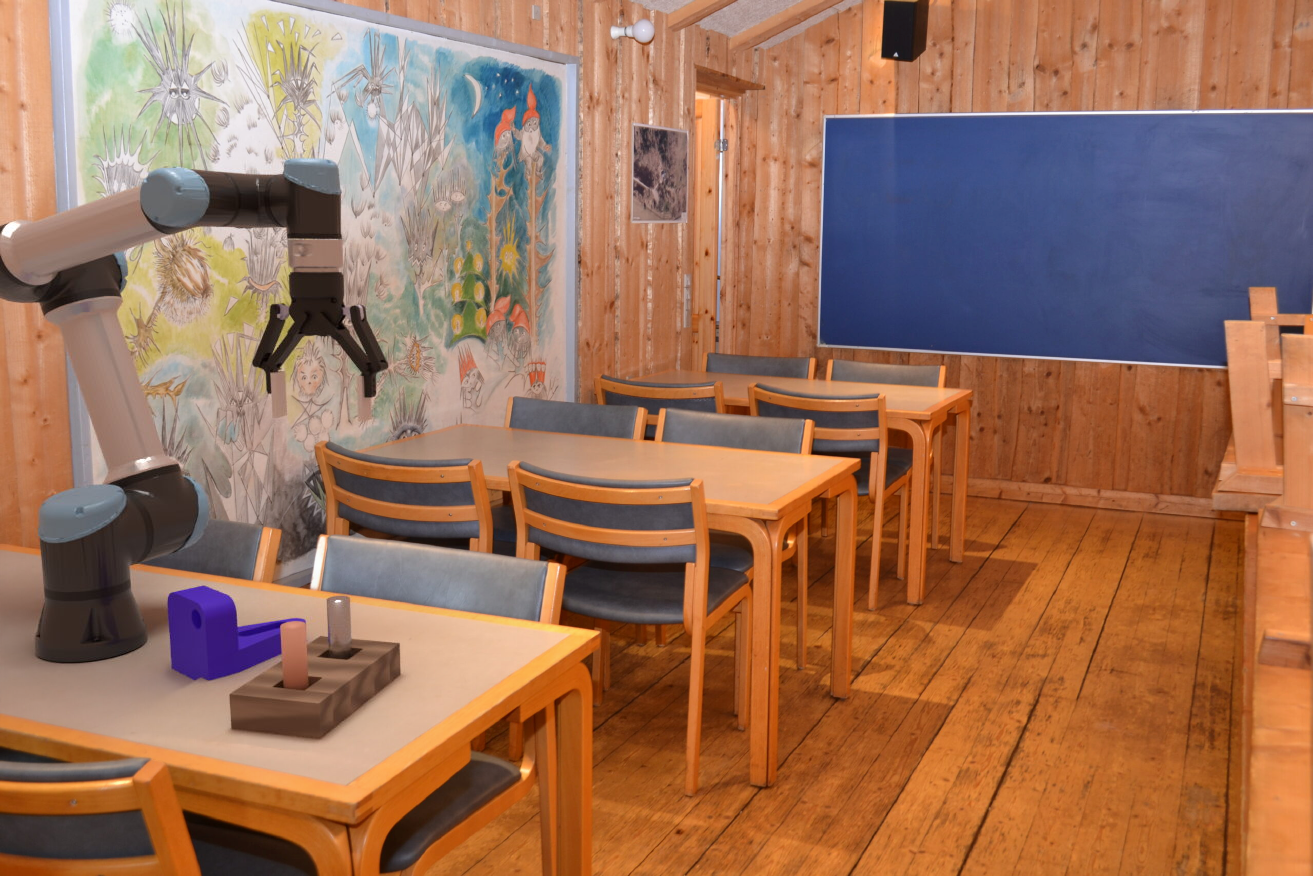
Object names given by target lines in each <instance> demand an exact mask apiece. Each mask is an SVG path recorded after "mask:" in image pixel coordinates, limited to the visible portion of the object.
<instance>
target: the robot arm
mask: <svg viewBox="0 0 1313 876" xmlns="http://www.w3.org/2000/svg"><path fill="white" fill-rule="evenodd" d="M339 172H340V169H339V166H338V164H337V163H336V162H335V161H333V160H332V159H327V158H313V157H310V158H309V157H297V158H296V157H293V158H288V159H286V160H285V161H284V163H283V171H282V173H279V174H278V173H277V174H265V173H263V174H262V173H261V174H256V173H255V174H254V173H253V174H251V173H242V172H241V173H240V172H227V171H215V170H206V169H204V170H203V169H195V168H194V169H193V168H187V167H181V166H174V167H159V168H155V169H153V170H152V171H150V172H149V173H148V174H147V176H146V177H145V178H144V179H143V181H142V183H141V184H139V185H137V186H136V185H135V186H133V187H131V188H127V189H124V190H121V191H119V192H116V193H113V194H110V195H107V196H105V197H102V198H98V199H96V200H93V201H90V202H87V203H84V204H81V205H79V206H76V207H73V208H70V209H67V210H64V211H61V212H58V213H56V214H52V215H50V216H47V217H44V218H41V219H38V220H35V221H32V220H28V219H17V220H12V221H10V222H7V223H3V224H1V225H0V299H2V300H4V301H7V302H12V303H20V304H32V303H33V304H34V303H35V304H36V303H38V304H39V305H40V310H41V311H42V315H43V318H44V320H45V321H46V322H48V323H50V324H53V326H56V327H57V328H59V332H60V334H61V337H62V339H63V343H64V346H65V348H66V352H67V354H68V357H69V360H70V362H71V366H72V368H73V373H74V375H75V377H76V380H77V381H76V382H77V384H78V386H79V389H80V393H81V396H82V398H83V401H84V404H85V407H86V411H87V412H88V416H89V420H90V421H91V424H92V428H93V429H94V434H95V436H96V438H97V441H98V444H99V448H100V450H101V453H102V456H103V458H104V461H105V465H106V468H107V471H108V472H107V475H106V477H105V478H104V480H103V482H102V484H90V485H87V486H86V485H85V486H83V487H79V486H78V487H77V486H76V487H74V488H70V489H66V490H63V491H61V492H58V493H55V494H53V495H51V496H50V497H48V498H46V499H45V500H44V501H43V502H42V503H41V504H40V507H39V509H38V527H37V535H38V538H39V547H40V557H41V559H40V560H41V567H42V581H43V592H44V602H43V606H42V610H41V613H40V618H39V622H38V625H37V631H36V633H35V636H34V650H35V654H36V656H37V657H39V658H41V659H43V660H47V661H51V662H61V663H79V662H91V661H96V660H103V659H108V658H112V657H117V656H120V655H123V654H127V653H128V652H132V651H134V650H136V649H138V648H140V647H142V646H143V645H144V644H145V643H146V642H147V640H148V631H147V630H148V629H147V623H146V621H145V619H144V618H143V617H142V613H141V610H140V608H139V605H138V604H137V603H138V602H137V600H136V598H135V597H134V594H133V590H132V582H131V568H130V567H131V566H134V565H137V564H141V563H143V562H144V563H145V562H147V561H151V560H153V559H157V558H160V557H163V556H166V555H168V556H169V555H173V554H174V553H179V552H180V551H182V550H183V549H186V548H189V547H191V546H193V545H194V544H195V543H197V542H198V541H199V540H200V539H201V538H202V537H203V535H204V533H205V530H206V528H207V526H208V524H209V520H210V514H211V513H210V502H209V501H210V500H209V498H208V495H207V493H206V491H205V489H204V487H203V486H202V484H200V483H199V482H196V479H195V478H193V477H191V476H187V475H184V474H183V472H182V470H181V466H180V463H179V462H178V461H177V460H174V459H173V458H170V457H169V456H167V455H166V454H165V451H164V448H163V445H162V442H161V439H160V436H159V433H158V431H157V427H156V424H155V422H154V419H153V416H152V413H151V409H150V407H149V405H148V401H147V399H146V395H145V393H144V390H143V386H142V385H141V381H140V378H139V375H138V373H137V369H136V366H135V364H134V363H135V362H134V360H133V357H132V354H131V352H130V349H129V346H128V343H127V341H126V337H125V334H124V332H123V328H122V325H121V321H120V319H119V316H118V311H119V309H120V307H121V306H122V304H123V302H124V300H123V296H122V292H123V291H124V290H125V289H126V286H127V283H128V280H127V279H126V277H128V276H129V267H128V261H127V259H126V256H125V253H124V251H125V250H129V249H132V248H135V247H138V246H140V245H144V244H146V243H150V242H152V241H153V242H154V241H156V240H160V239H162V238H165V237H168V236H172V235H175V234H178V233H182V232H185V231H189V230H191V229H194V228H201V227H205V228H206V227H207V228H208V227H209V228H211V227H212V228H214V227H215V228H234V229H246V230H250V229H261V228H262V229H265V228H266V229H267V228H269V229H270V228H281V229H283V228H285V229H286V236H287V237H286V239H287V240H286V241H287V242H286V243H287V259H288V268H289V267H290V269H292V271H290V272H289V274H288V285H289V286H288V290H289V297H290V301H291V302H290V305H286V304H285V303H282V302H281V303H272V304H271V305H270V306H269V320H268V322H267V325H266V327H265V330H264V332H263V334H262V337H261V339H260V342H259V343H258V347H257V349H256V352H255V354H254V357H253V359H252V362H251V363H252V364H251V365H252V366H253V367H254V368H259V369H261V370H263V372H264V373H265V383H266V385H265V386H266V387H265V389H266V393H267V394H268V395H271V410H272V415H271V416H272V418H275V419H276V418H281V417H286V416H287V415H288V405H287V403H288V402H287V388H286V387H287V383H286V382H287V381H286V380H287V379H286V371H285V370H282V369H283V368H282V366H283V365H284V363H285V362H286V360H287V359H288V358H289V357H290V355H291V354H292V353H293V352H294V350H295V349H296V347H297V346H298V344H299V343H300V342H301V341H302V339H303V338H304V337H314V336H318V337H324V338H325V337H330V338H331V339H333V340H334V341H336V342H337V344H338V345H339V346H340V347H341V349H342V350H343V351H344V352H345V354H346V355H347V357H348V358H349V359H350V360H351V361H352V362H353V364H354V365H355V367H356V368H357V369H358V370H359V371H360V375H356V390H357V392H356V394H357V396H356V397H357V398H356V399H357V420H358V422H366V421H369V420H372V419H373V413H372V411H373V410H372V408H373V407H372V398H374V397H376V396H377V395H376V394H377V374H378V373H380V372H383V371H387V370H388V369H389V365H390V364H389V362H388V360H387V358H386V356H385V355H384V352H383V350H382V348H381V347H380V344H379V342H378V340H377V338H376V335H375V334H374V331H373V330H372V327H371V326H370V324H369V321H368V320H367V319H368V318H367V311H366V307H365V305H363V304H358V305H357V304H356V305H350V306H347V307H346V305H345V302H344V298H345V280H344V279H345V275H344V274H343V272H342V271H340V269H342V268H343V267H344V252H343V251H344V250H343V240H342V239H343V236H342V235H343V234H342V188H341V182H340V180H341V179H340V173H339ZM289 317H290V318H291V320H292V321H293V323H292V325H291V326H290V328H289V329H288V330H287V331H286V332H287V333H286V335H285V336H284V338H283V339H282V340H281V342H280V343H279V345H278V346H277V343H278V342H279V338H280V336H281V334H282V331H283V329H284V326H285V324H286V320H287V319H288V318H289ZM346 317H347V319H348V320H349V321H350V323H351V326H352V328H353V329H354V331H355V333H356V335H357V338H358V340H359V343H360V345H362V347H361V346H360V345H359V344H358V342H357V341H356V340H355V339H354V337H353V336H352V335H351V333H350V330H349V329H348V327H347V326H346V325H345V324H344V320H345V318H346ZM276 346H277V348H276ZM275 348H276V349H275Z"/></svg>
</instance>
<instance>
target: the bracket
mask: <svg viewBox="0 0 1313 876" xmlns="http://www.w3.org/2000/svg"><path fill="white" fill-rule="evenodd" d="M237 611H238V610H237V607H236V603H235V601H234V599H233V598H232V597H231V595H229V594H226V593H224V592H222V591H219V590H217V589H215V588H211V587H210V586H207V585H203V584H202V585H200V586H199V585H198V586H195V587H191V588H186V589H181V590H175V591H172V592H170V593H169V594H168V597H167V616H168V617H167V618H168V619H167V620H168V630H169V631H168V632H169V635H168V636H169V649H170V663H171V664H170V665H171V669H172V670H174V671H175V672H178V673H180V674H182V675H183V676H185V677H188V678H189V679H191V680H193V681H195V682H196V681H197V680H199V679H201V678H202V679H204V680H206V681H208V682H209V681H210V682H211V681H214V680H217V679H220V678H224V677H228V676H231V675H234V674H239V673H240V672H241V673H242V672H243V671H246V670H248V669H250V668H253V667H255V666H258V665H260V664H262V663H264V662H266V661H268V660H271V659H274V658H275V657H278V656H280V655H282V648H281V629H280V626H281V625H282V624H283V623H286V622H291V621H301V622H304V623H305V624H306V625H307V623H306V622H307V621H306V619H305V618H299V617H289V618H285V619H277V620H273V621H266V622H265V621H264V622H260V623H259V622H258V623H253V624H245V625H241V626H238V614H237ZM306 642H307V643H308V640H307V638H306Z"/></svg>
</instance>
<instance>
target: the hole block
mask: <svg viewBox="0 0 1313 876" xmlns="http://www.w3.org/2000/svg"><path fill="white" fill-rule="evenodd" d="M351 640H352V657H351V658H350V659H348V660H343V659H332V658H329V645H328V636H326V635H325V636H324V635H323V636H322V635H320V636H318V637H317V638H315V639H314V640H312V641H310V642H309V643H307V662H308V683H309V688H307V689H306V690H295V689H285V688H284V686H283V667H282V660H281V661H279V662H277V663H276V664H274V665H273V666H271V667H270V668H268V669H266V670H265V671H263V672H262V673H260V674H258V675H257V676H255V677H254V678H252V679H250V680H249V681H248V682H245V684H243V685H242V686H239V687H238V688H236V689H234V690H233V691H232V692H230V693H229V709H230V710H229V711H230V726H231V727H230V729H231V730H232V731H233V730H235V731H243V732H253V733H262V734H270V735H279V736H288V737H289V736H290V737H296V738H297V737H298V738H307V739H313V740H322V739H323V738H324V737H326V736H327V734H329V733H330V732H331V731H333V730H334V729H335V728H337V726H339V725H340V724H341V723H342V722H344V721H346V719H347V718H349V717H351V715H352V714H354V713H355V712H356V711H357V710H359V709H360V708H361V707H363V706H364V704H366V703H367V702H369V701H370V700H371V699H372V698H373V697H374V696H376V695H377V694H378V693H380V692H381V691H382V690H383V689H385V688H386V687H387V686H389V685H390V684H391V683H392V682H393V681H395V680H396V679H397V678H399V676H401V648H400V647H401V646H400V645H401V644H400V642H391V641H390V642H389V641H381V640H371V639H370V640H367V639H356V638H351Z"/></svg>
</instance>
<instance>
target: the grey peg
mask: <svg viewBox="0 0 1313 876" xmlns="http://www.w3.org/2000/svg"><path fill="white" fill-rule="evenodd" d="M351 614H352V613H351V598H350V596H348V595H333V596H330V597H327V599H326V616H327V635H328V636H327V637H328V645H329V658H332V659H343V660H348V659H350V658H351V657H352V640H351V639H352V621H351V618H352V616H351Z"/></svg>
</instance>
